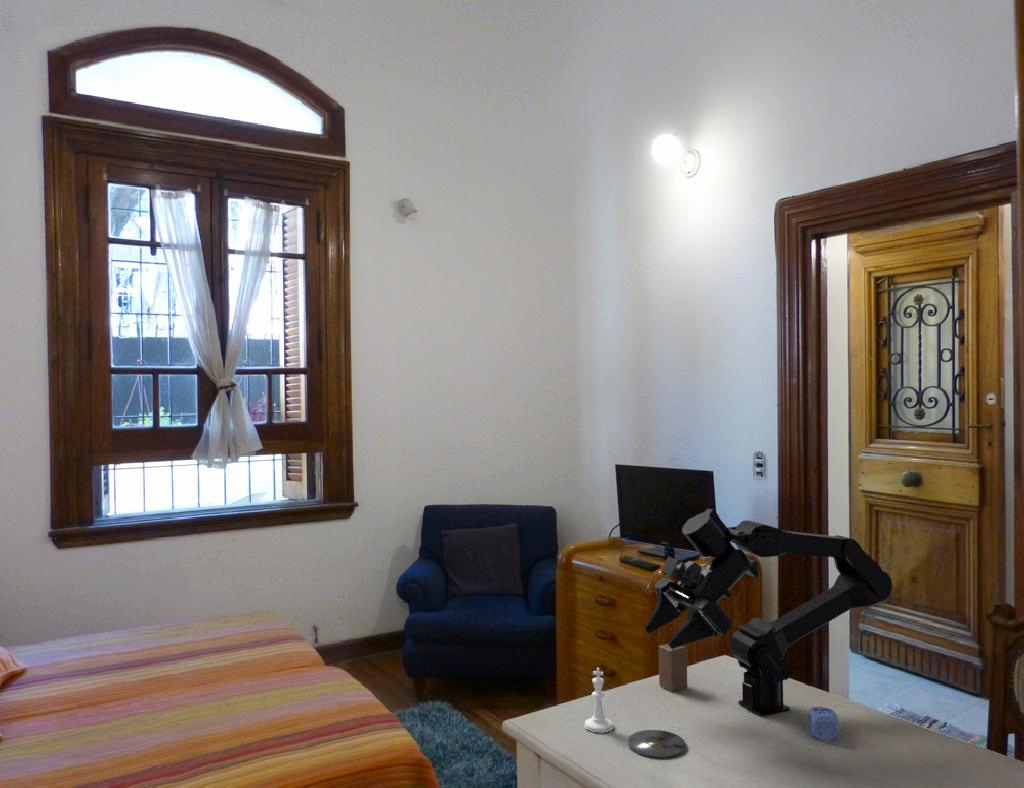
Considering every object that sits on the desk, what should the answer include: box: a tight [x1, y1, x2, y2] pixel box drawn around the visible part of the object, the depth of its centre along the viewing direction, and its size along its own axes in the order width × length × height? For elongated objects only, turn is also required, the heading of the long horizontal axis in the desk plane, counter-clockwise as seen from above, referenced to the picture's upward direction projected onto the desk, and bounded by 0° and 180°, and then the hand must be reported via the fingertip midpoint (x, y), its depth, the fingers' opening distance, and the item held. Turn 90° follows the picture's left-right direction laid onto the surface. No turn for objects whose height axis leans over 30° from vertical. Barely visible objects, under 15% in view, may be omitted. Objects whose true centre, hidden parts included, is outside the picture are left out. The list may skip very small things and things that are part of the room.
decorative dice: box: [807, 706, 840, 741], centre depth 125 cm, size 4×4×4 cm
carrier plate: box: [627, 729, 686, 759], centre depth 122 cm, size 9×9×1 cm
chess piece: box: [584, 667, 614, 733], centre depth 130 cm, size 5×5×10 cm
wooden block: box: [658, 643, 688, 693], centre depth 147 cm, size 4×4×8 cm
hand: (657, 638), depth 132 cm, fingers open, 9 cm apart
